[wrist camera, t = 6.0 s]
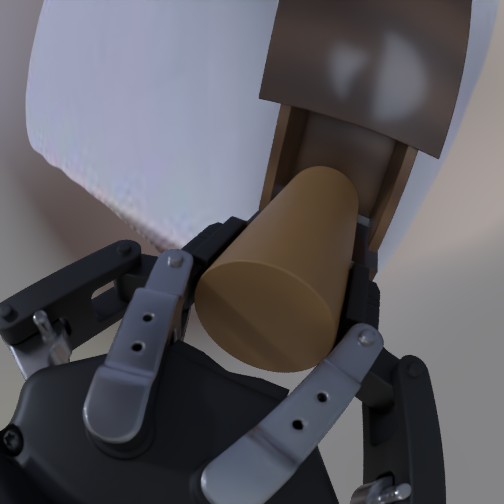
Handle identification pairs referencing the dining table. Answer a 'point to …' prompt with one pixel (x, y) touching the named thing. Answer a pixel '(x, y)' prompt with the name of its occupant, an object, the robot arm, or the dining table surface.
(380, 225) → the drawer
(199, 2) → the dining table surface
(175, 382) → the robot arm
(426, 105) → the cabinet
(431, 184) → the dining table surface
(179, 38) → the dining table surface
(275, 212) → the tan wooden cylinder
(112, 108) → the dining table surface
